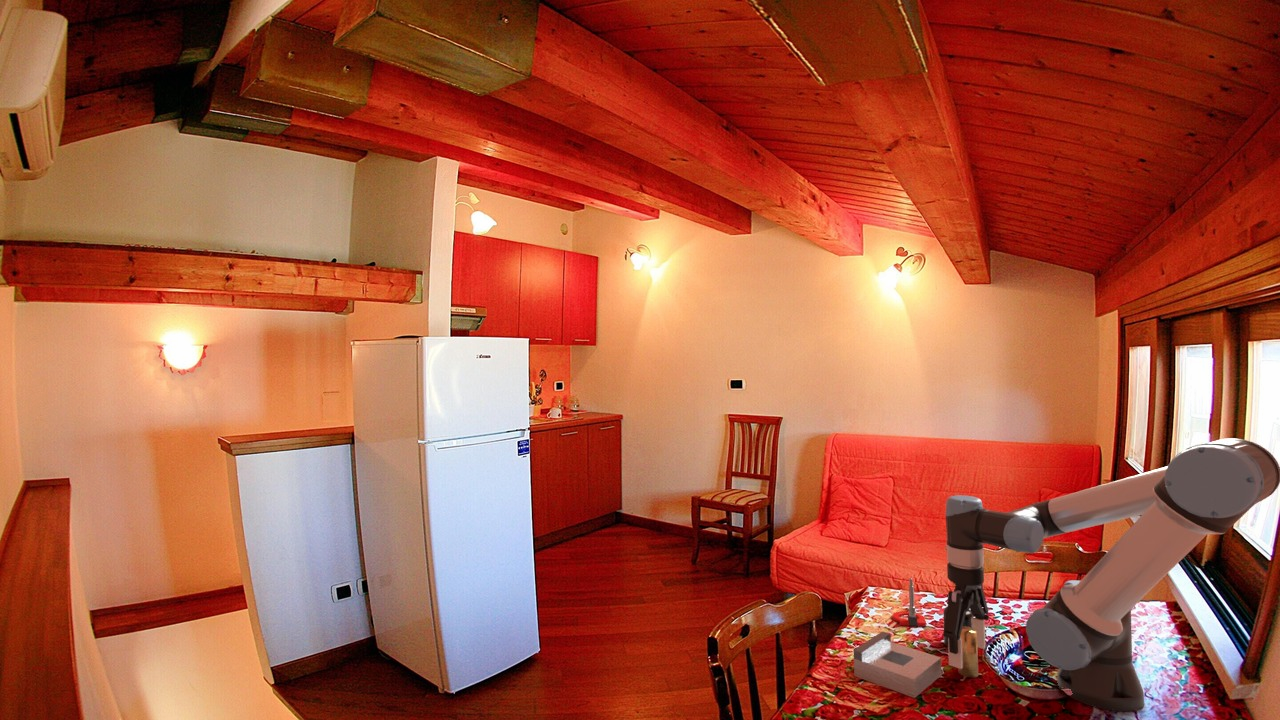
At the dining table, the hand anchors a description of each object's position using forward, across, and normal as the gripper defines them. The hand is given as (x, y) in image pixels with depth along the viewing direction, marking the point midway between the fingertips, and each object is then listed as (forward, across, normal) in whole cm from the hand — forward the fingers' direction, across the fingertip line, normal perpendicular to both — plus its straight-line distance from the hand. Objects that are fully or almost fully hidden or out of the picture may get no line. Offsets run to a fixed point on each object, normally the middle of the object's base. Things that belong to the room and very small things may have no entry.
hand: (967, 656), depth 148 cm
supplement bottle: (+4, -13, -7) cm, 15 cm away
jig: (+4, +12, -11) cm, 17 cm away
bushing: (+4, 0, 0) cm, 4 cm away
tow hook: (+4, -20, -23) cm, 31 cm away
